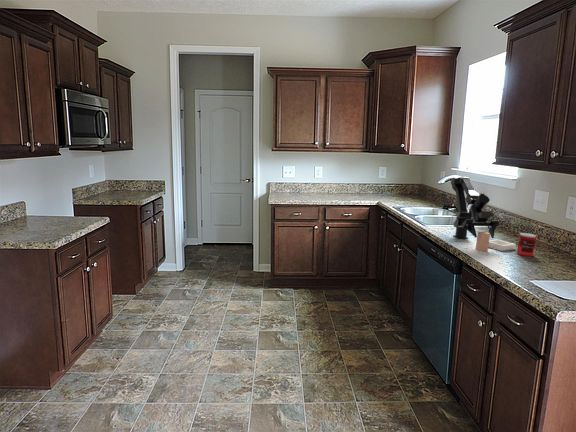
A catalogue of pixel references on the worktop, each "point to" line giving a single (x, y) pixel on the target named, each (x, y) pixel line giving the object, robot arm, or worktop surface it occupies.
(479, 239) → the terracotta block
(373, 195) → the worktop surface
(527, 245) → the canned food
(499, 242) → the tray
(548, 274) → the worktop surface
